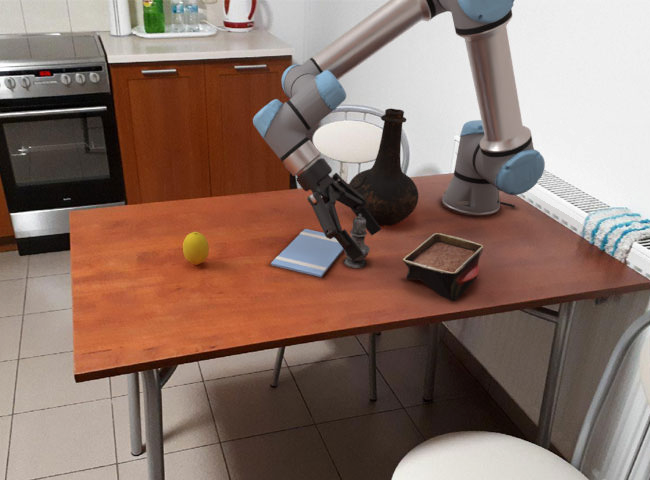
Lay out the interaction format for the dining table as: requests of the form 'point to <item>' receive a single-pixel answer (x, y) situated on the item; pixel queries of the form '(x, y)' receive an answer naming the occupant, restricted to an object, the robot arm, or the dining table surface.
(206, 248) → the lemon
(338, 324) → the dining table surface
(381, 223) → the glass bottle
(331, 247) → the cloth
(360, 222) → the salt shaker
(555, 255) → the dining table surface
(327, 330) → the dining table surface
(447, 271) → the baking dish
